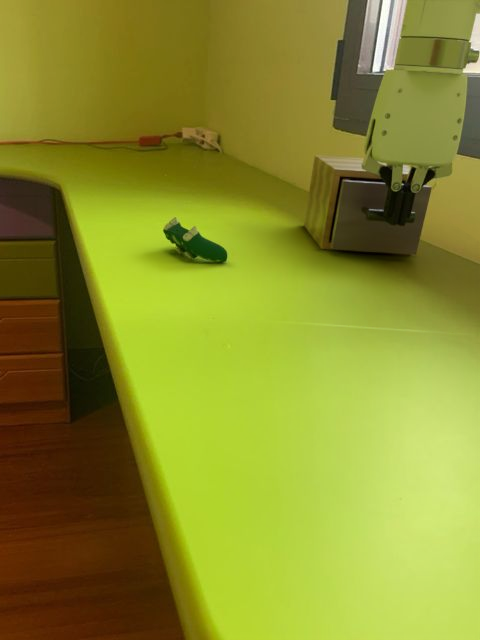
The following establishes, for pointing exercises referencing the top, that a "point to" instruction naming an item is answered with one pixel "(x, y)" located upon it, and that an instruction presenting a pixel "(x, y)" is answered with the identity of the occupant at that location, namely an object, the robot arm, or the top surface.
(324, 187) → the cabinet
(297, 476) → the top surface
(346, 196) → the drawer
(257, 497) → the top surface
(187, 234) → the green shoe
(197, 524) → the top surface
